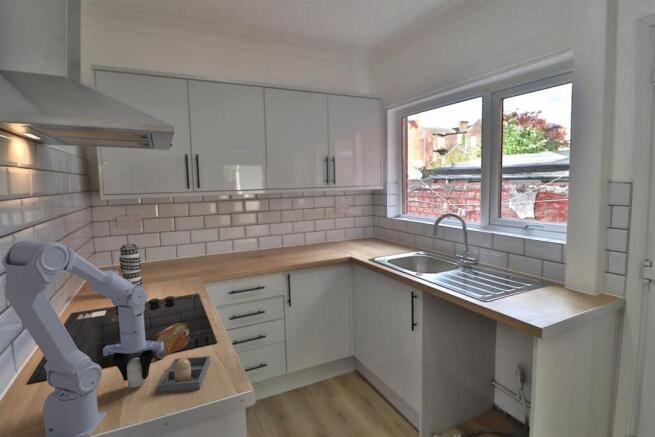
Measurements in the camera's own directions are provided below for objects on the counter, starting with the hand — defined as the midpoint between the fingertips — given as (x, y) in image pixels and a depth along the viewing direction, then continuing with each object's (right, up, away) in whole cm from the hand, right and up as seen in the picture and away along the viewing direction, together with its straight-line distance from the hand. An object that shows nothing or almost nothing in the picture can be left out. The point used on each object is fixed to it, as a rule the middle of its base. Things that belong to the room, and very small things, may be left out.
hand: (136, 377), depth 95 cm
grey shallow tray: (+12, -2, +5) cm, 13 cm away
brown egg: (+12, -2, +2) cm, 12 cm away
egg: (0, -1, 0) cm, 2 cm away
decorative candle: (-45, +5, +81) cm, 93 cm away
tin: (+1, -1, +21) cm, 21 cm away
